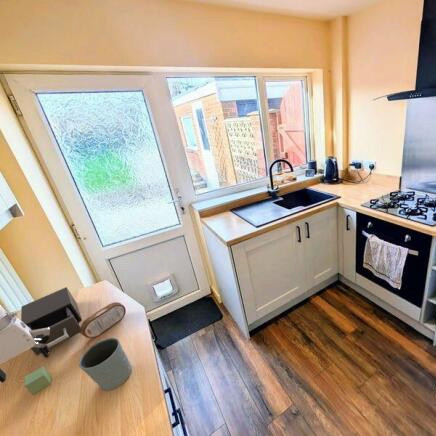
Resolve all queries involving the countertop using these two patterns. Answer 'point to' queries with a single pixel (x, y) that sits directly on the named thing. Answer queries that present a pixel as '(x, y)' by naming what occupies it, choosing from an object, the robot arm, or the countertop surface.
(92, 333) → the tin
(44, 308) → the small drawer box
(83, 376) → the countertop surface
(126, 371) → the grey green cup
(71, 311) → the dark grey sliding drawer
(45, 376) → the cube
